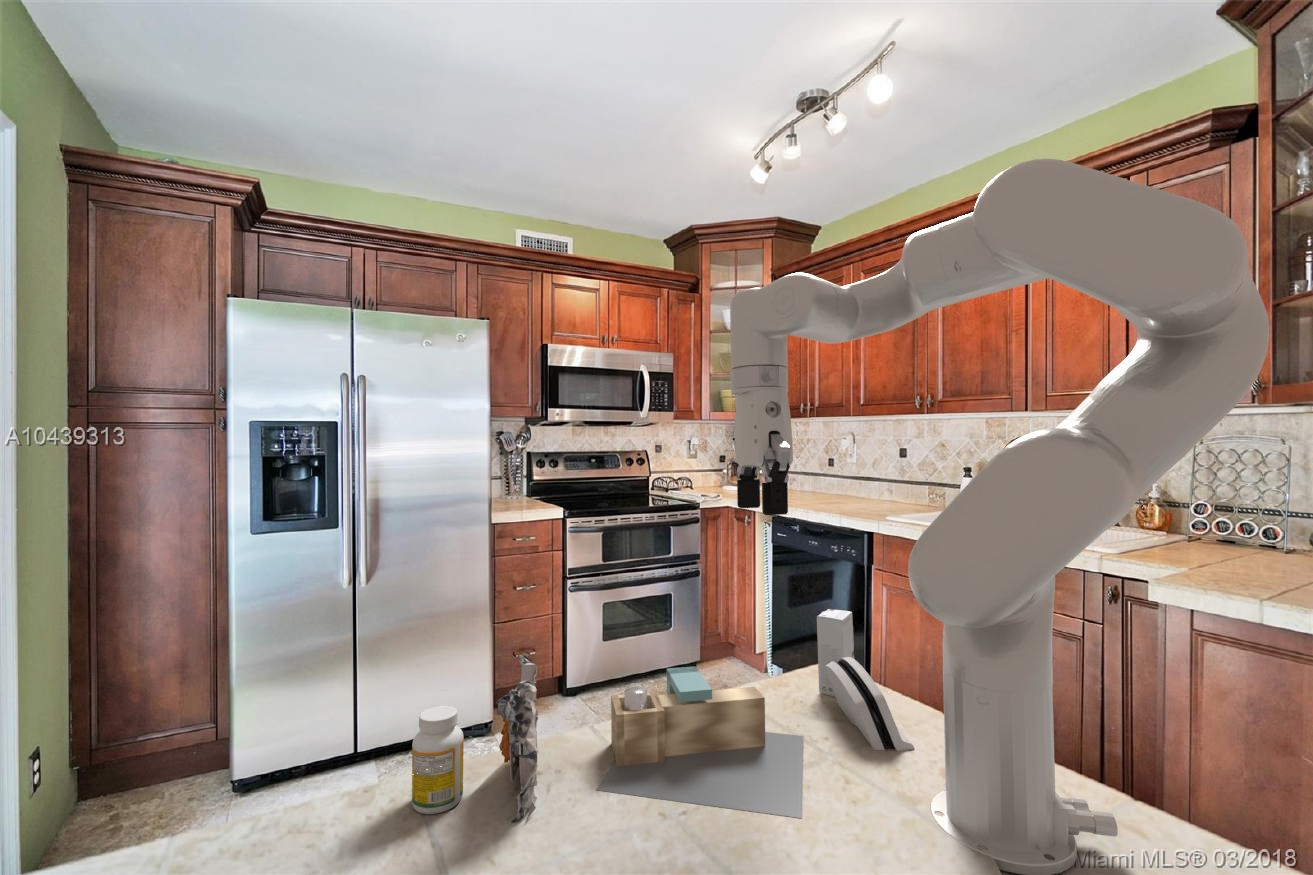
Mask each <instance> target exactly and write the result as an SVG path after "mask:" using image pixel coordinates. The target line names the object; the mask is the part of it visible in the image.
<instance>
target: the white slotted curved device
mask: <svg viewBox="0 0 1313 875" xmlns="http://www.w3.org/2000/svg"><path fill="white" fill-rule="evenodd" d="M825 668H826V671H827V674H828V677H829V679H830V682H831V685H832V688H833V691H834V694H835V696H836V697H835V696H834V697H835V699H836V702H837V705H838V706H839V708H840V709H841V710H842V712H843V713H844V715H845V716H846V717H847V719H848V721H850V723H851V725H855V726H856V727H857V728H858V730H859V731H860V732H861V734H862V735H863V737H864V738H865V739H866V740H867V742H868V743H869V744H870V746H871V748H873V750H875V751H876V750H877V751H886V750H888V746H889V748H890V749H891V750H895V751H908V750H915V746H914V744H913V743H912V742H911V741H910V740H909V739H908V738H907V736H906V735H905V734H904V733H903V732H902V731H901V730H900V729H899V728H898V726H897V724H896V722H895V720H894V716H893V714H892V712H891V710H890V707H889V705H888V702H887V700H886V697H885V696H884V694H883V692H882V691H881V690H880V688H879V687H878V685H877V684H876V682H875V681H874V680H873V678H872V677H871V676H870V674H869V673H868V672H867V671H866V669H865V668H864V667H863V666H862V665H861V664H860V663H859V661H858V660H856V659H855V658H854V659H853V658H851V657H845V658H840V661H838V663H837V662H833V661H832V662H830V663H829V664H827V665H826V666H825ZM887 745H888V746H887Z"/></svg>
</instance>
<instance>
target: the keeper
mask: <svg viewBox="0 0 1313 875" xmlns="http://www.w3.org/2000/svg"><path fill="white" fill-rule="evenodd" d="M712 690H713V689H712V687H711V685H710V684H709V683H708V682H707V680H706V679H705V677H704V675H702V674H701V672H700V671H699V669H698V668H697V667H696V665H695V666H684V667H672V668H666V694H676V695H677V697H678V699H679V701H680V702H688V701H699V700H710V699H712Z"/></svg>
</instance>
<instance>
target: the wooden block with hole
mask: <svg viewBox="0 0 1313 875" xmlns="http://www.w3.org/2000/svg"><path fill="white" fill-rule="evenodd" d="M610 701H611V702H610V707H611V708H610V714H611V716H610V720H611V723H610V724H611V730H610V731H611V732H610V733H611V734H610V737H611V747H612V751H613V756H614V761H615V760H616V765H617V766H626V765H636V764H645V763H654V762H664V761H665V757H666V756H675V755H685V754H694V753H704V752H713V751H723V750H732V749H741V748H751V747H760V746H765V732H766V704H765V703H766V697H765V696H764V695H763V694H762V693H761V692H760V690H759V689H758V688H757V687H756V686H749V687H739V688H738V687H737V688H727V689H725V688H724V689H714V690H713V689H712V699H710V700H699V701H688V702H680V701H679V699H678V697H677V695H676V694H667V693H666V694H657V691H650V692H649V691H647V709H641V710H630V711H625V693H624V694H615V695H610Z"/></svg>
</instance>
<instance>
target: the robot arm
mask: <svg viewBox="0 0 1313 875" xmlns="http://www.w3.org/2000/svg"><path fill="white" fill-rule="evenodd" d="M901 253H902V254H901V258H900V259H899V261H898V262H896V264H895V265H893V266H892V267H891V268H889V269H888V270H886V271H883V272H882V273H880V274H877V275H875V276H872V277H869V278H867V279H863V280H860V281H857V282H854V283H851V284H847V285H843V286H840V285H838V284H836V283H833V282H830V281H828V280H826V279H823V278H820V277H818V276H815V275H813V274H810V273H805V272H795V273H793V272H792V273H791V274H787V275H784V276H782V277H780V278H778V279H775V280H773V281H772V282H770V283H768V284H766V285H764V286H762V287H752V288H746V289H744V290H740V291H738V292H737V293H735V294H734V295H732V298H731V300H730V306H729V307H730V309H729V321H730V322H729V324H730V328H729V329H730V380H731V381H730V382H731V383H730V386H731V387H730V391H731V392H730V394H731V395H732V396H736V400H735V416H734V417H735V418H734V419H735V420H734V454H735V456H734V457H735V461H736V462H735V464H736V465H735V466H736V469H737V470H736V489H737V490H736V491H737V492H736V494H737V495H736V498H737V499H736V500H737V507H738V508H739V509H759V508H760V507H761V506H762V508H761V510H762V514H763V515H765V516H780V515H783V516H784V515H787V514H788V513H789V501H788V500H789V497H788V496H789V494H788V493H789V492H788V488H789V487H788V483H789V481H790V480H789V479H790V477H789V470H790V468H791V465H792V464H793V462H794V447H793V431H792V419H791V418H792V416H791V409H790V404H789V402H790V401H789V396H788V393H789V383H788V382H789V373H788V371H789V370H788V368H789V366H788V364H789V362H788V336H791V337H797V338H802V339H807V340H812V341H815V342H819V343H823V344H832V345H833V344H841V343H846V342H851V341H857V340H860V339H864V338H867V337H871V336H876V335H880V334H883V333H887V332H890V331H892V330H895V329H898V328H900V327H902V326H904V325H906V324H909V323H911V322H913V321H915V320H917V319H920V318H921V317H923V316H925V315H926V314H928V313H929V312H931V311H933V310H936V309H940V308H943V307H947V306H950V305H955V304H958V303H961V302H965V301H969V300H973V299H976V298H980V297H984V296H987V295H991V294H995V293H999V292H1003V291H1007V290H1010V289H1015V288H1018V287H1022V286H1026V285H1030V284H1033V283H1036V282H1041V281H1045V280H1048V279H1050V280H1052V281H1055V282H1057V283H1059V284H1061V285H1063V286H1066V287H1068V288H1071V289H1073V290H1075V291H1077V292H1080V293H1082V294H1085V295H1087V296H1089V297H1091V298H1093V299H1096V300H1097V301H1100V302H1102V303H1104V304H1106V305H1108V306H1110V307H1111V308H1114V309H1116V310H1117V311H1118V312H1119V314H1120V315H1121V316H1123V317H1124V318H1125V320H1127V321H1128V322H1129V323H1131V325H1132V326H1133V327H1134V328H1135V330H1136V332H1137V339H1136V342H1135V345H1134V346H1133V348H1132V350H1131V351H1130V352H1129V353H1128V355H1127V356H1126V357H1125V358H1124V360H1122V361H1121V362H1120V363H1119V364H1118V365H1116V367H1115V368H1113V369H1112V370H1111V371H1110V372H1109V373H1108V374H1107V375H1106V376H1105V377H1103V378H1102V380H1101V381H1100V382H1099V383H1098V384H1096V386H1095V387H1094V388H1093V390H1092V391H1091V392H1090V393H1089V394H1088V395H1087V397H1086V398H1085V399H1084V400H1083V401H1082V402H1081V403H1079V405H1077V407H1075V409H1074V410H1073V411H1072V412H1070V414H1068V416H1067V417H1065V418H1064V419H1063V420H1062V421H1061V422H1060V423H1059V424H1058V425H1056V427H1053V428H1044V429H1039V430H1035V431H1033V432H1029V433H1027V434H1024V435H1021V436H1020V437H1018V438H1017V439H1015V440H1013V441H1012V442H1010V443H1009V444H1007V445H1005V446H1004V448H1002V449H1001V450H1000V451H998V452H997V453H996V454H995V455H994V456H993V457H992V458H991V459H990V460H989V461H988V462H986V464H985V465H984V466H983V467H982V468H981V470H979V472H978V473H976V475H975V476H974V477H973V478H972V479H971V480H970V481H969V482H968V483H967V485H965V487H964V488H963V489H962V490H961V491H960V492H958V494H957V496H955V497H954V499H952V501H950V503H949V504H948V505H947V506H946V507H945V508H944V509H943V510H942V511H941V513H939V515H938V516H937V517H935V519H934V520H933V521H932V522H931V523H930V524H929V525H928V526H927V527H926V529H924V530H923V532H922V534H921V535H920V536H919V538H917V540H916V541H915V544H914V545H913V548H912V550H911V552H910V554H909V558H908V565H907V575H908V580H909V582H908V583H909V586H910V588H911V591H912V594H913V596H914V597H915V599H916V601H917V602H918V604H920V606H921V607H922V608H923V609H924V611H926V612H927V614H929V615H931V616H932V617H933V618H935V619H937V620H938V621H940V622H942V623H943V631H942V632H943V633H942V679H943V682H942V684H943V685H942V686H943V687H942V688H943V726H944V727H943V729H944V732H943V733H944V764H945V766H944V767H945V768H944V769H945V770H944V771H945V773H944V774H945V775H944V776H945V790H942V791H940V792H939V793H937V794H936V795H935V796H934V797H933V798H932V799H931V801H930V805H929V806H930V813H931V816H932V818H933V819H934V821H935V822H936V823H937V825H938V826H939V827H940V828H941V829H942V831H944V832H945V833H946V834H948V835H949V836H950V837H952V838H953V839H954V840H956V841H957V842H959V843H961V844H962V845H964V846H966V847H967V848H970V849H972V850H973V851H976V852H979V853H980V854H983V855H985V856H988V857H991V858H993V859H994V861H995V863H996V866H997V867H998V869H999V870H1001V871H1004V872H1007V873H1013V874H1017V875H1055V874H1056V875H1057V874H1060V873H1063V872H1065V871H1067V870H1069V869H1070V868H1072V867H1073V866H1074V864H1075V862H1076V860H1077V859H1078V844H1077V840H1076V837H1075V836H1079V835H1080V832H1082V833H1089V834H1090V833H1091V834H1093V835H1099V836H1107V837H1114V838H1116V837H1118V833H1119V832H1118V831H1119V830H1118V825H1117V821H1116V818H1115V816H1114V815H1113V814H1112V813H1111V812H1107V811H1098V810H1091V809H1090V808H1089V804H1088V802H1087V800H1086V799H1082V798H1073V797H1069V798H1067V797H1060V795H1059V794H1058V793H1057V792H1056V773H1055V772H1056V770H1055V768H1056V767H1055V736H1054V735H1055V734H1054V732H1055V731H1054V704H1053V703H1054V702H1053V701H1054V700H1053V696H1054V695H1053V685H1054V676H1053V675H1054V674H1053V673H1054V672H1053V671H1054V670H1053V627H1054V626H1053V625H1054V624H1053V623H1054V608H1055V591H1056V575H1058V573H1060V572H1061V571H1062V570H1063V569H1065V567H1066V566H1068V565H1069V563H1071V562H1072V561H1073V560H1074V559H1075V558H1076V557H1077V556H1079V554H1081V553H1082V552H1084V550H1086V549H1087V548H1088V547H1089V546H1090V545H1091V544H1092V543H1093V542H1094V541H1096V540H1097V539H1098V538H1099V537H1100V536H1101V535H1102V534H1104V533H1105V532H1106V531H1108V530H1109V529H1112V527H1114V526H1115V525H1116V524H1118V523H1119V522H1121V521H1122V520H1123V519H1124V518H1125V517H1126V516H1127V515H1128V513H1130V511H1131V510H1132V508H1133V507H1134V506H1135V504H1136V503H1137V501H1138V500H1140V498H1141V497H1142V496H1144V494H1145V493H1147V491H1148V490H1150V489H1151V488H1152V487H1153V485H1154V484H1156V483H1157V482H1158V481H1159V480H1160V479H1162V477H1163V476H1164V475H1166V474H1167V473H1168V472H1169V471H1170V470H1171V469H1172V468H1173V467H1174V466H1175V465H1176V464H1177V463H1178V462H1180V461H1181V460H1182V459H1183V458H1184V457H1185V456H1186V455H1187V454H1188V453H1189V452H1190V451H1191V450H1192V449H1193V448H1194V447H1195V446H1196V445H1197V444H1198V443H1199V442H1200V441H1202V439H1203V438H1205V436H1206V435H1208V433H1210V431H1212V430H1213V429H1214V428H1215V427H1216V426H1217V425H1218V424H1219V423H1220V422H1221V421H1223V419H1225V417H1226V416H1227V415H1228V414H1229V413H1230V412H1232V411H1233V409H1234V408H1235V407H1236V406H1237V404H1239V403H1240V401H1241V400H1242V399H1243V398H1244V397H1245V395H1247V393H1248V392H1249V390H1250V389H1251V387H1252V386H1253V384H1254V383H1255V381H1256V380H1257V378H1258V376H1259V374H1260V372H1261V370H1262V368H1263V366H1264V363H1265V360H1266V356H1267V353H1268V348H1269V341H1270V321H1269V315H1268V312H1267V309H1266V306H1265V303H1264V301H1263V298H1262V297H1261V295H1260V292H1259V290H1258V287H1257V286H1256V284H1255V282H1254V280H1253V277H1252V276H1251V274H1250V266H1249V249H1248V244H1247V241H1246V239H1245V236H1244V234H1243V232H1242V230H1241V229H1240V227H1239V226H1238V225H1237V224H1236V223H1235V221H1234V220H1232V219H1231V217H1229V216H1227V215H1226V214H1224V213H1223V212H1222V211H1220V210H1218V209H1216V208H1215V207H1212V206H1210V205H1208V204H1206V203H1203V202H1200V201H1198V200H1195V199H1191V198H1189V197H1186V196H1183V195H1179V194H1176V193H1172V192H1169V191H1166V190H1162V189H1159V188H1155V187H1153V186H1149V185H1147V184H1146V185H1145V184H1142V183H1139V182H1135V181H1132V180H1128V179H1126V178H1123V177H1120V176H1116V175H1113V174H1112V173H1108V172H1105V171H1101V170H1098V169H1094V168H1091V167H1087V166H1086V165H1085V166H1084V165H1082V164H1079V163H1075V162H1072V161H1071V162H1070V161H1067V160H1062V159H1056V158H1055V159H1053V158H1036V159H1031V160H1027V161H1023V162H1020V163H1016V164H1015V165H1013V166H1012V165H1011V166H1010V167H1009V168H1006V169H1004V170H1003V171H1001V172H1000V173H998V174H997V175H996V176H995V177H993V178H992V179H991V180H990V181H989V182H988V183H987V184H986V185H985V186H984V188H983V189H982V191H981V192H980V194H979V195H978V198H977V200H976V203H975V205H974V207H973V212H970V213H968V214H967V213H966V214H965V215H961V216H958V217H957V218H954V219H950V220H947V221H944V222H941V223H939V224H936V225H934V226H930V227H928V228H925V229H921V230H919V231H917V232H914V233H912V234H911V235H910V236H909V237H908V238H907V240H906V241H905V242H904V245H903V247H902V252H901ZM760 469H761V473H762V476H763V479H764V482H762V483H761V479H760V478H758V475H759V472H760ZM761 502H762V503H761ZM936 812H939V813H942V814H943V815H941V816H940V815H938V814H936ZM979 846H983V847H984V848H986V849H987V850H982V849H979V848H978V847H979Z"/></svg>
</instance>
